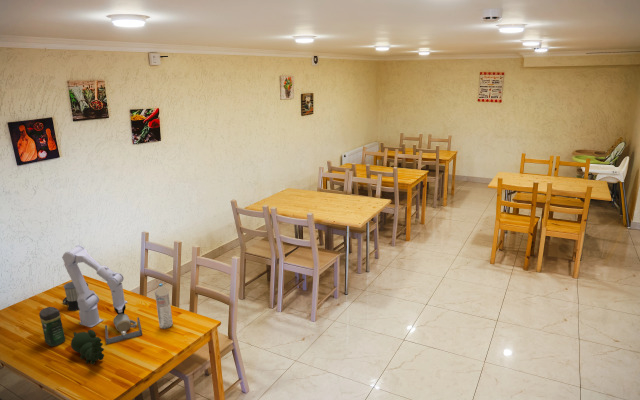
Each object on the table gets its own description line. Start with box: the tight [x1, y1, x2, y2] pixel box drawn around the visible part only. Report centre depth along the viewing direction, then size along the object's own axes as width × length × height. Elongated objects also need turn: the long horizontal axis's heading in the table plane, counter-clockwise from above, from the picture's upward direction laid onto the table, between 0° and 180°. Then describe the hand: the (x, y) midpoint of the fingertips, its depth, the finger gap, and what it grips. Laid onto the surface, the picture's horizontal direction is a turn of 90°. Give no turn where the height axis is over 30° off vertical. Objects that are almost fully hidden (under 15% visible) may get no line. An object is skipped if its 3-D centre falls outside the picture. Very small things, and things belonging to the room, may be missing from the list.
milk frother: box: [62, 281, 89, 312], centre depth 256 cm, size 14×16×15 cm
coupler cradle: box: [104, 316, 143, 345], centre depth 229 cm, size 16×17×4 cm
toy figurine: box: [70, 329, 105, 365], centre depth 208 cm, size 9×19×25 cm
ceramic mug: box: [112, 313, 138, 333], centre depth 233 cm, size 11×8×8 cm
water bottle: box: [154, 282, 174, 330], centre depth 232 cm, size 7×7×25 cm
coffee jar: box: [39, 306, 66, 347], centre depth 220 cm, size 10×8×19 cm
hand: (121, 318), depth 236 cm, fingers closed
